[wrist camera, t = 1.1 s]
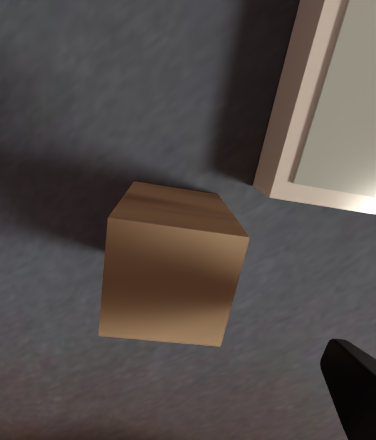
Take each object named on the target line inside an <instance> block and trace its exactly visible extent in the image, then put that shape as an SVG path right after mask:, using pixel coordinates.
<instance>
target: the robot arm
mask: <svg viewBox="0 0 376 440" xmlns="http://www.w3.org/2000/svg"><path fill="white" fill-rule="evenodd" d="M320 366H321V371H322V373H323V376H324V379H325V381H326V384H327V387H328V389H329V392H330V395H331V397H332V400H333V403H334V405H335V408H336V411H337V413H338V416H339V419H340V421H341V424H342V426H343V429H344V431H345V433H346V436H347V438H348V440H376V359H374V358H373V357H371V356H370V355H368V354H367V353H365V352H364V351H362V350H361V349H359V348H358V347H356V346H355V345H353V344H351V343H350V342H348V341H346V340H342V339H331V340H330V341H329V342H328V344H327V346H326V349H325V351H324V353H323V356H322V358H321V361H320Z"/></svg>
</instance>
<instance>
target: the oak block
mask: <svg viewBox="0 0 376 440" xmlns="http://www.w3.org/2000/svg"><path fill="white" fill-rule="evenodd" d="M249 239H250V237H249V236H248V234H247V233H246V232H245V230H244V229H243V227H242V226H241V225H240V223H239V222H238V221H237V219H236V218H235V217H234V215H233V214H232V213H231V211H230V210H229V209H228V207H227V206H226V204H225V203H224V202H223V200H222V199H221V198H220V196H219V195H218V194H213V193H206V192H200V191H194V190H187V189H181V188H174V187H168V186H162V185H155V184H149V183H143V182H136V181H134V182H133V183H132V185H131V186H130V188H129V189H128V190H127V192H126V193H125V194H124V196H123V197H122V199H121V200H120V201H119V203H118V204H117V206H116V207H115V208H114V210H113V211H112V213H111V214H110V215H109V217H108V221H107V234H106V247H105V259H104V272H103V285H102V298H101V310H100V323H99V336H106V337H118V338H129V339H141V340H152V341H163V342H175V343H186V344H197V345H209V346H220V347H221V343H222V340H223V336H224V332H225V328H226V325H227V321H228V317H229V314H230V310H231V306H232V302H233V299H234V295H235V291H236V287H237V284H238V280H239V276H240V273H241V269H242V265H243V261H244V258H245V254H246V250H247V247H248V243H249Z"/></svg>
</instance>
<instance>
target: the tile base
mask: <svg viewBox="0 0 376 440" xmlns="http://www.w3.org/2000/svg"><path fill="white" fill-rule="evenodd" d="M253 187H255V188H256V189H258V190H259V191H261V192H262V193H264V194H265V195H267V196H268V197H269V198H276V199H282V200H288V201H295V202H301V203H307V204H313V205H320V206H326V207H332V208H338V209H345V210H351V211H357V212H363V213H370V214H376V0H300V3H299V7H298V11H297V15H296V19H295V22H294V26H293V30H292V34H291V38H290V42H289V46H288V50H287V54H286V58H285V62H284V65H283V69H282V73H281V77H280V81H279V85H278V89H277V93H276V97H275V101H274V105H273V108H272V112H271V116H270V120H269V124H268V128H267V132H266V136H265V140H264V144H263V148H262V151H261V155H260V159H259V163H258V167H257V171H256V175H255V179H254V183H253Z"/></svg>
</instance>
